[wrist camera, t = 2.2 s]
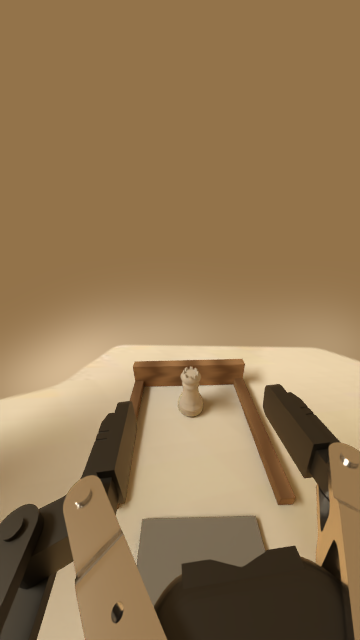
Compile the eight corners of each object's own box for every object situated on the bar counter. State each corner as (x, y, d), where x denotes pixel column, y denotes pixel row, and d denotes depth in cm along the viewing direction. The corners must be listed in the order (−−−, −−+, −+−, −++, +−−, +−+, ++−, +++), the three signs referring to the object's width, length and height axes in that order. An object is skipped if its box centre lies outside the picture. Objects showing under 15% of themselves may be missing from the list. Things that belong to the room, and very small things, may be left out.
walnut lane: (103, 509, 20) (93, 486, 18) (137, 380, 38) (134, 361, 36) (292, 504, 20) (304, 481, 18) (239, 378, 38) (242, 359, 36)
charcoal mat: (113, 768, 10) (111, 769, 10) (142, 520, 20) (142, 518, 19) (321, 762, 11) (323, 764, 10) (254, 517, 20) (255, 515, 19)
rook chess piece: (173, 402, 33) (172, 367, 30) (195, 393, 35) (195, 359, 31) (185, 422, 29) (184, 386, 26) (208, 411, 31) (210, 376, 28)
